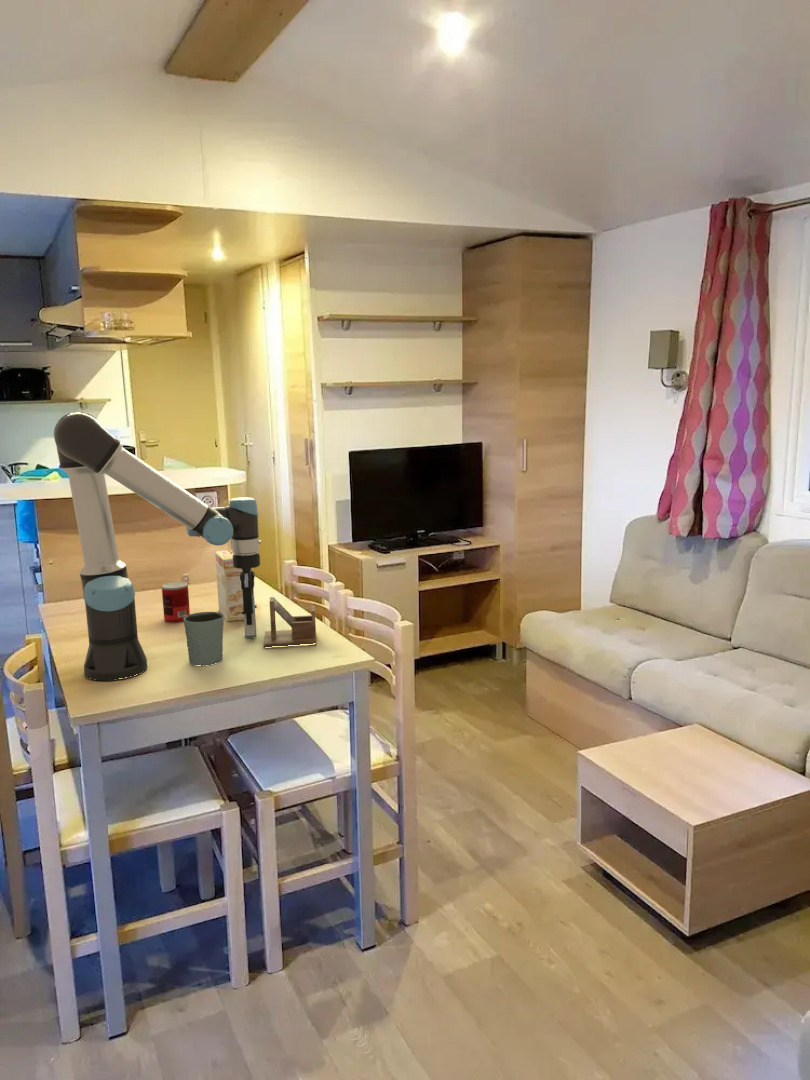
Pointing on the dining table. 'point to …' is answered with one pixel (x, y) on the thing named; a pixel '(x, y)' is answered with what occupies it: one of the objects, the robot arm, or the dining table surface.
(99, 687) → the dining table surface
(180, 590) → the canned food
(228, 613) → the coffeecake box
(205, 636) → the grey-green cup
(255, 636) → the peg
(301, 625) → the socket cradle
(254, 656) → the dining table surface
